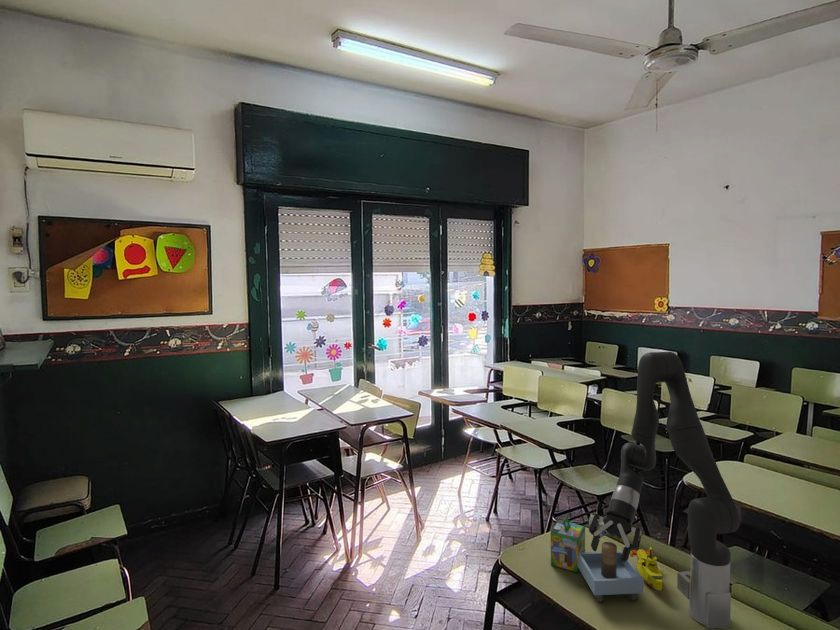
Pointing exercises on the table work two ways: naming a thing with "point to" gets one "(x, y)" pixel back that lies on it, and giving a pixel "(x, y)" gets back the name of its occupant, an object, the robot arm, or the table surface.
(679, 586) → the grey cube with hole
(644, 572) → the yellow toy submarine
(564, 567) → the chalk box
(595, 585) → the wheeled cart
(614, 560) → the cylinder
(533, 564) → the table surface
